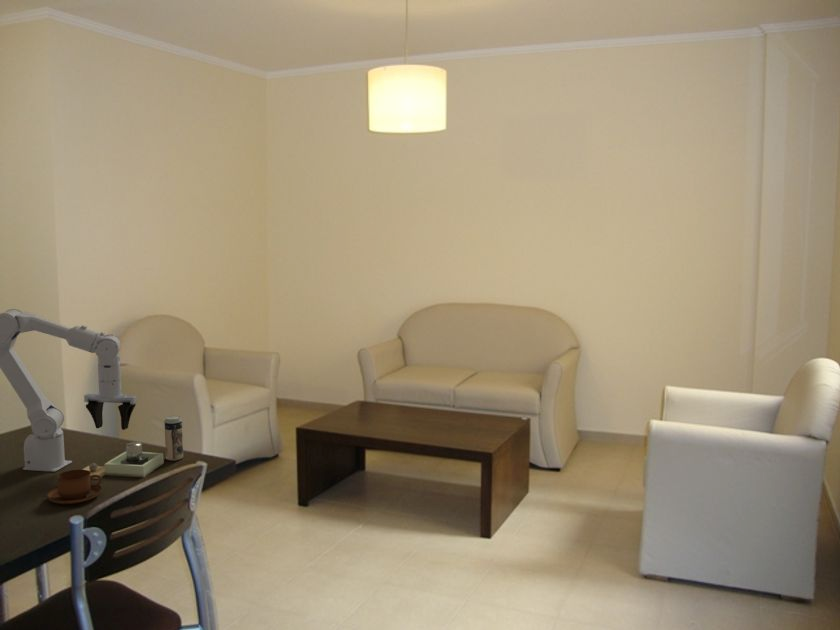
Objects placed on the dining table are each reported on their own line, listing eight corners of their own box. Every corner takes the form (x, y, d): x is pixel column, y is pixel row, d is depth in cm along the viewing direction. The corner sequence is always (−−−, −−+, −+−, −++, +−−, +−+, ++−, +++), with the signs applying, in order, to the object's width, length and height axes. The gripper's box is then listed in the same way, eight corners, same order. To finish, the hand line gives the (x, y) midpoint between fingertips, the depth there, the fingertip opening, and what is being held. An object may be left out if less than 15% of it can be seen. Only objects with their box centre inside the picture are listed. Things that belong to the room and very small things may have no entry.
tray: (104, 474, 199) (104, 464, 199) (126, 461, 210) (126, 451, 210) (143, 477, 198) (143, 466, 197) (163, 463, 209) (163, 453, 208)
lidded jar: (177, 462, 210) (176, 420, 208) (162, 460, 211) (160, 419, 209) (186, 456, 215) (185, 415, 213) (171, 455, 216) (169, 414, 214)
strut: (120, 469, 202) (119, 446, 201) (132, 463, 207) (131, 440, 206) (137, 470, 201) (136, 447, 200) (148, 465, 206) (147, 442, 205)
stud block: (73, 477, 197) (73, 466, 197) (88, 468, 204) (88, 458, 204) (98, 478, 196) (97, 468, 196) (113, 469, 203) (112, 459, 203)
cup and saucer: (86, 486, 191) (85, 463, 191) (111, 498, 184) (109, 473, 183) (38, 500, 182) (37, 475, 181) (62, 512, 175) (60, 487, 174)
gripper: (76, 382, 203) (79, 430, 205) (126, 384, 201) (129, 433, 203) (91, 376, 210) (93, 423, 212) (140, 378, 208) (142, 426, 210)
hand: (112, 428), depth 208 cm, fingers open, 7 cm apart
